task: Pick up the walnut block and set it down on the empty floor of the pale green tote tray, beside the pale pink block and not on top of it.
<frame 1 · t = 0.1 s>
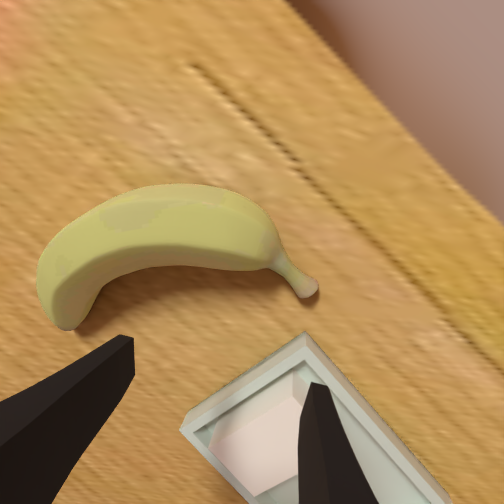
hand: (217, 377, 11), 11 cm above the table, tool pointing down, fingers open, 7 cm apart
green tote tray: (312, 451, 24), on the table
pale pink block: (275, 416, 23), point 1 cm above the table, touching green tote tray
banana: (185, 268, 22), on the table
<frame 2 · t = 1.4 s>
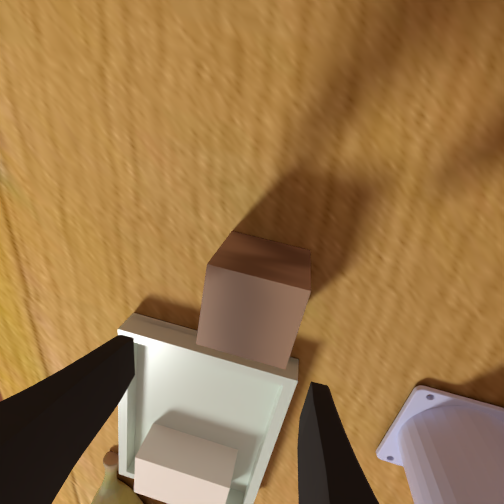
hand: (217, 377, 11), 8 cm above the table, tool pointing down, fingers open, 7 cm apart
walnut block: (262, 274, 19), on the table
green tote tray: (200, 414, 25), on the table
pale pink block: (192, 453, 27), point 1 cm above the table, touching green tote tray
banana: (173, 501, 33), on the table
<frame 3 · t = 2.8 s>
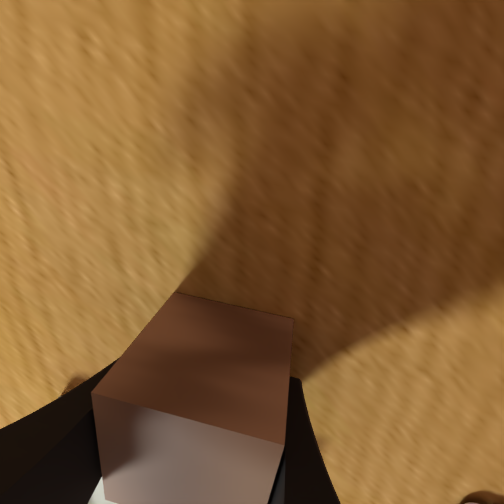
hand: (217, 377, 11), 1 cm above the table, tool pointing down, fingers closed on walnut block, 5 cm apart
walnut block: (226, 352, 13), on the table, touching gripper
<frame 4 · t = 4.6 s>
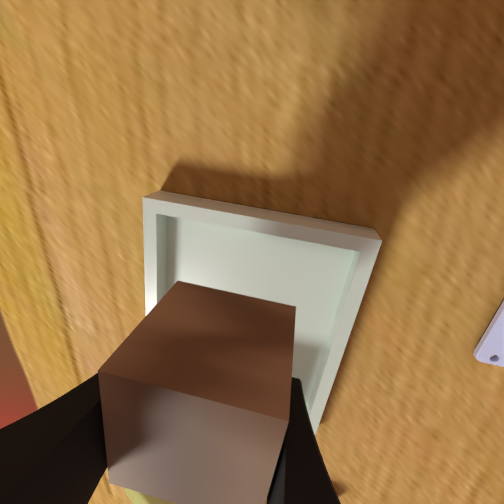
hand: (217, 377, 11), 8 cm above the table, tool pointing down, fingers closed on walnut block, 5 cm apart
walnut block: (228, 340, 13), point 7 cm above the table, touching gripper
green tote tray: (244, 328, 21), on the table
banana: (218, 446, 27), on the table
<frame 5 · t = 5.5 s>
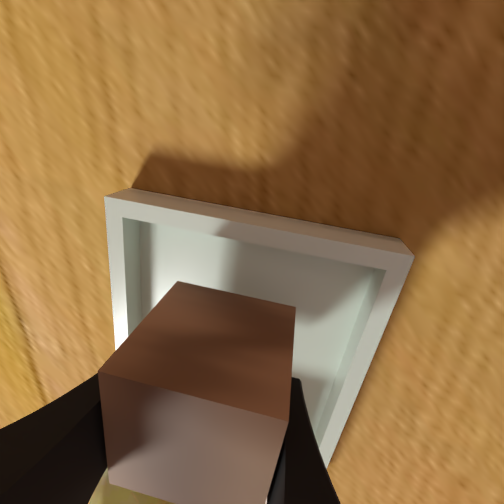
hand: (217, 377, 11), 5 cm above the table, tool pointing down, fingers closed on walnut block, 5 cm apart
walnut block: (228, 341, 13), point 3 cm above the table, touching gripper
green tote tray: (236, 355, 17), on the table
banana: (207, 480, 24), on the table
when the fingers open (3 cm above the table, at t = 6.4 s): walnut block drops 1 cm, resting on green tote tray.
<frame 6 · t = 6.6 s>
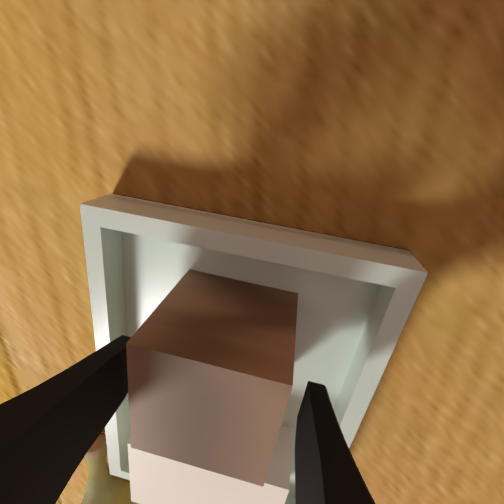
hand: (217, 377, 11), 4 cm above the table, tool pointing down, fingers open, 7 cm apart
walnut block: (235, 325, 14), point 1 cm above the table, touching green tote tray
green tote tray: (229, 373, 16), on the table
pale pink block: (218, 438, 17), point 1 cm above the table, touching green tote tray
banana: (201, 498, 22), on the table
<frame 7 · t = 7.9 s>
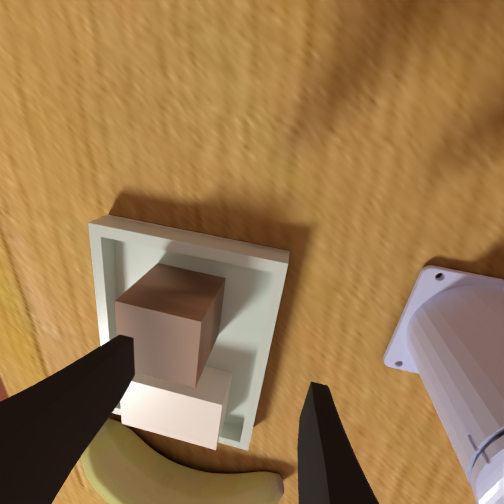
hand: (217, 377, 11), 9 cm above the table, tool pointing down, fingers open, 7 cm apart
walnut block: (189, 300, 21), point 1 cm above the table, touching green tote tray
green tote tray: (189, 335, 23), on the table
pale pink block: (183, 383, 25), point 1 cm above the table, touching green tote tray
banana: (176, 435, 29), on the table
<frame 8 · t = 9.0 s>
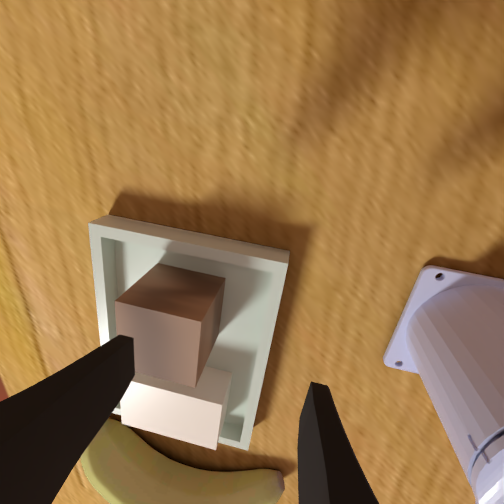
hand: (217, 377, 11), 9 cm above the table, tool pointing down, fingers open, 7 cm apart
walnut block: (189, 300, 21), point 1 cm above the table, touching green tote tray
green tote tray: (189, 335, 23), on the table
pale pink block: (183, 383, 25), point 1 cm above the table, touching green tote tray
banana: (175, 434, 29), on the table
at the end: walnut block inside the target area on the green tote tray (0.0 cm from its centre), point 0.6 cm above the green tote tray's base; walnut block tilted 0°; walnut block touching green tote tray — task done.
